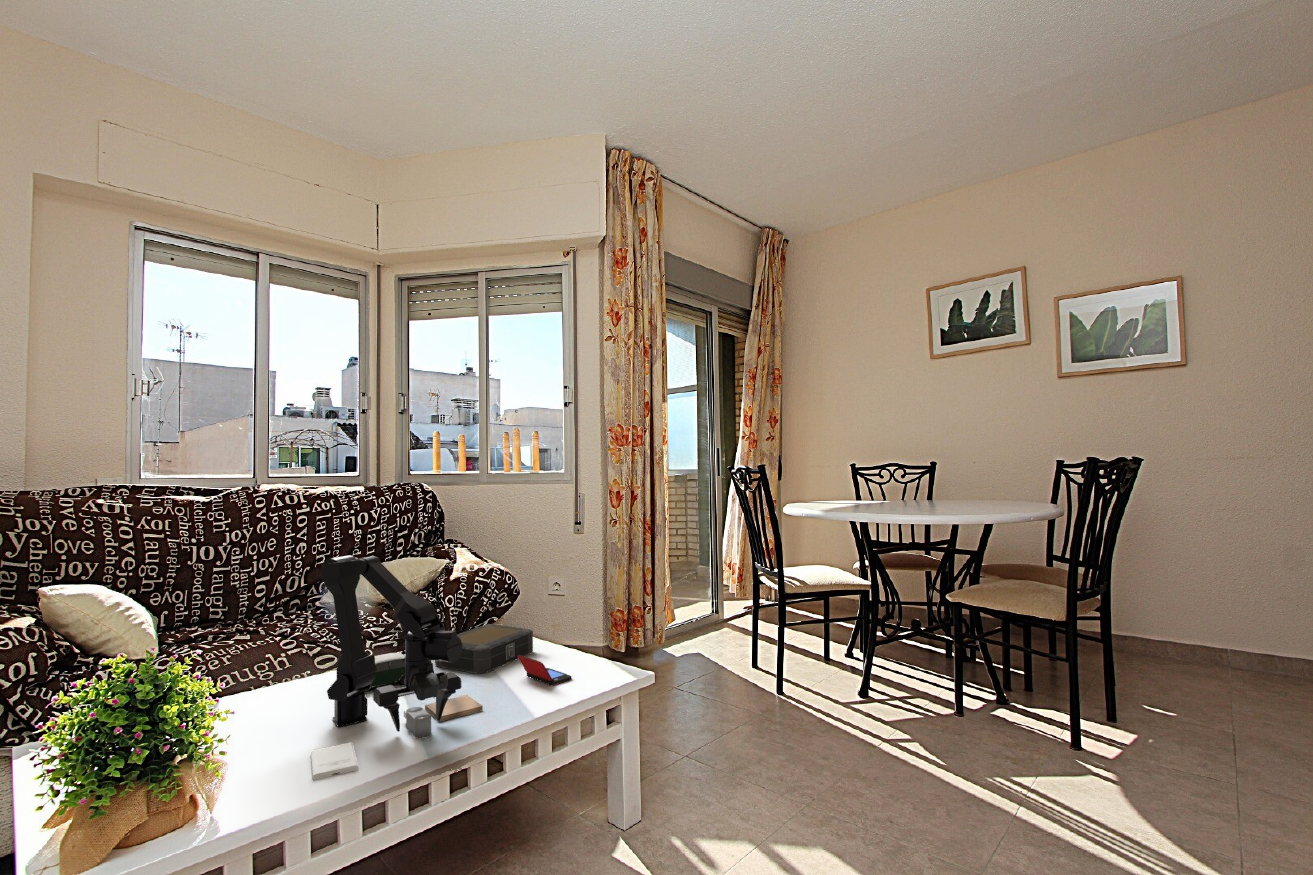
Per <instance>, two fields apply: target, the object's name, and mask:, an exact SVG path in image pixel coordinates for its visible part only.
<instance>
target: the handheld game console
mask: <svg viewBox="0 0 1313 875" xmlns="http://www.w3.org/2000/svg"><path fill="white" fill-rule="evenodd" d="M517 657H518V659H517V660H519V662H520V664H521V665H522V667H523V668H524V671H525V672H526V677H527V676H528V677H527V678H530V677H531V678H530V679H532V678H533V680H535V679H536V681H540V680H541V681H542V682H541V681H540V682H541V683H543V682H544V683H543V684H546V685H548V684H549V685H548V686H550V685H553V686H556V685H559V684H562V682H563V683H565V681H566V682H569V681H571V680H572V677H573V676H572V675H570V674H567V673H564V672H563V671H558V670H556V669H553V668H549V667H546V665H545V664H544V663H543V662H542V661H540V660H536V659H533V658H530V657H527V656H522V655H518V656H517ZM537 679H538V680H537Z"/></svg>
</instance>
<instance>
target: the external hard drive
mask: <svg viewBox="0 0 1313 875" xmlns="http://www.w3.org/2000/svg"><path fill="white" fill-rule="evenodd" d="M310 759H311V760H310V761H311V762H310V763H311V771H312V772H311V773H312V780H313V781H315V780H318V779H323V778H327V777H332V776H336V775H340V774H342V775H343V774H346V773H349V772H354V771H358V770H359V765H358V764H359V763H358V759H357V755H356V749H355V746H354V743H353V742H346V743H342V744H337V745H333V746H327V747H323V748H317V749H313V750H311V751H310Z"/></svg>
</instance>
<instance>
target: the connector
mask: <svg viewBox="0 0 1313 875" xmlns="http://www.w3.org/2000/svg"><path fill="white" fill-rule="evenodd" d="M403 717H404V719H405V723H406V724H405V726H406V727H405V729H406V728H407V729H406V730H407V731H408V732H409V733H410V734H411V735H412V736H415V737H416V739H426V738H428V737H430V736H431V735H432V715H431V714H429V713H428V712H427V711H426V710H425V708H423V707H421V706H412V707H409V708H407V709H406V710H404V711H403ZM425 737H426V738H425Z"/></svg>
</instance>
